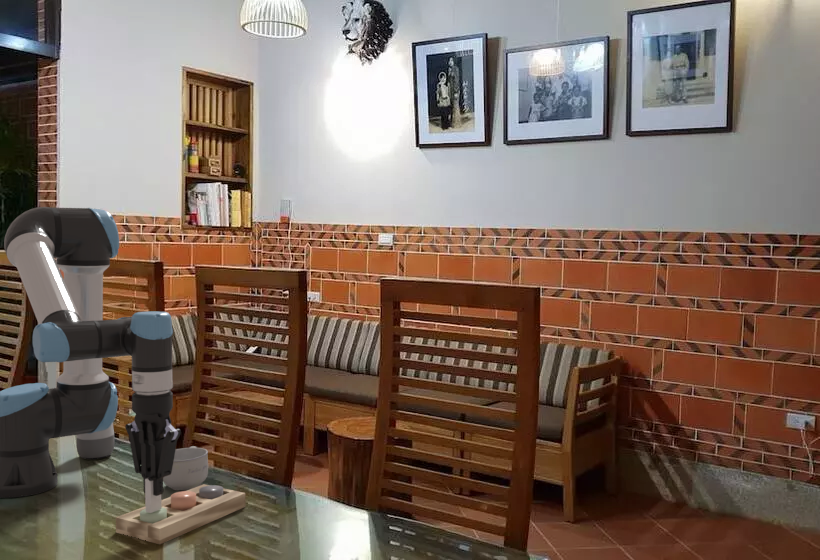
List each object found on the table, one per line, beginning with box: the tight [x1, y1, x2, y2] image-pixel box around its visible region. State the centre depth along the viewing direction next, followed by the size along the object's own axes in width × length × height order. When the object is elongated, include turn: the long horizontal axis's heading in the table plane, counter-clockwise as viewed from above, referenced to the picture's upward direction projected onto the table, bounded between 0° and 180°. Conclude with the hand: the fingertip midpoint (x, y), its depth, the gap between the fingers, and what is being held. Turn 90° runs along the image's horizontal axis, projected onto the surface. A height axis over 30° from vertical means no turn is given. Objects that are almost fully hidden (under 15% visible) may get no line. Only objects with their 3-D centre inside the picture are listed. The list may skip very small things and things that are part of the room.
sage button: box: [140, 507, 167, 524], centre depth 151 cm, size 5×5×3 cm
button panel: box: [115, 483, 246, 545], centre depth 158 cm, size 12×24×3 cm, turn 151°
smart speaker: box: [75, 423, 116, 461], centre depth 203 cm, size 10×9×14 cm
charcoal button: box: [199, 484, 224, 500], centre depth 165 cm, size 5×5×3 cm
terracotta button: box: [170, 490, 196, 511], centre depth 158 cm, size 5×5×3 cm
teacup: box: [163, 445, 209, 491], centre depth 180 cm, size 14×11×8 cm
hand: (153, 510), depth 151 cm, fingers closed
